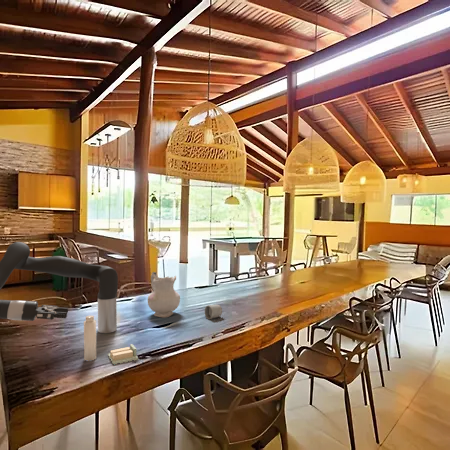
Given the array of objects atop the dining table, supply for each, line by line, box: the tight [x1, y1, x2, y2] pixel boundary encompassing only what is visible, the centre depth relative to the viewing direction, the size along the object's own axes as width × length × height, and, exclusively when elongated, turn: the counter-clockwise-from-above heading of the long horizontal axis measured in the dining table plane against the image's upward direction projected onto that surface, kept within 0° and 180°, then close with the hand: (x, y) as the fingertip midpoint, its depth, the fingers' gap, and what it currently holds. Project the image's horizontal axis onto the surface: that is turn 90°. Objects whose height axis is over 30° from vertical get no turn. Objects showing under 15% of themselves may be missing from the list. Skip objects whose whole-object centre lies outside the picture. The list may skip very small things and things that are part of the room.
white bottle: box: [83, 315, 97, 362], centre depth 148 cm, size 5×5×18 cm
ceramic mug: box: [204, 304, 223, 320], centre depth 206 cm, size 11×8×8 cm
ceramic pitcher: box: [147, 271, 181, 319], centre depth 211 cm, size 22×20×25 cm
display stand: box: [107, 343, 139, 365], centre depth 149 cm, size 10×10×4 cm
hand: (67, 313), depth 144 cm, fingers open, 8 cm apart
